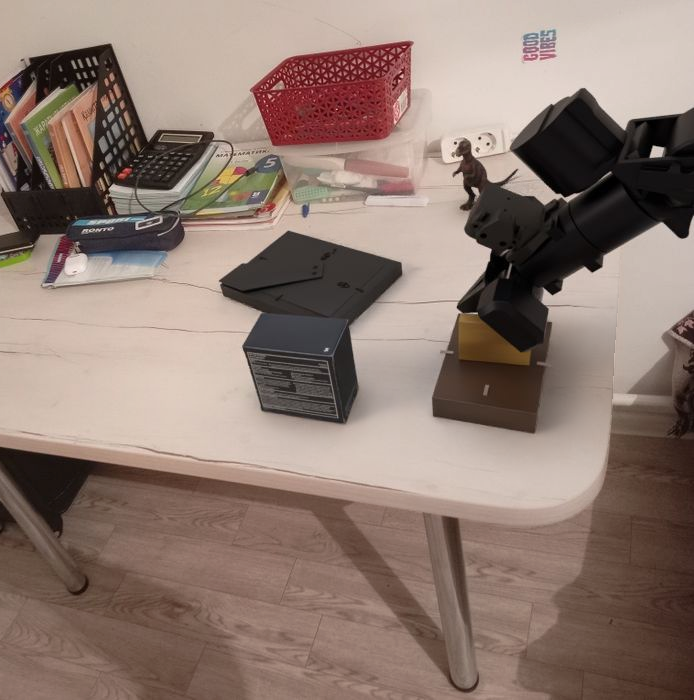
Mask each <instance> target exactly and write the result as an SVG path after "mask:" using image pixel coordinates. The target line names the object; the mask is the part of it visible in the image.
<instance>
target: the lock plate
mask: <svg viewBox="0 0 694 700" xmlns="http://www.w3.org/2000/svg"><path fill="white" fill-rule="evenodd" d="M461 313H462V312H458V313H457V316H456V319H455V322H454V325H453V329H452V332H451V335H450V338H449V340H448V341H449V342H448V344H447V348H446V350H445V349H440V351H439V354H445V355H444V357H443V361H442V364H441V367H440V370H439V374H438V377H437V380H436V383H435V386H434V389H433V393H432V396H431V405H432V406H431V407H432V408H431V410H432V416H433V417H436V418H442V419H448V420H455V421H460V422H465V423H471V424H476V425H483V426H489V427H495V428H500V429H506V430H512V431H518V432H524V433H529V434H536V430H537V423H538V418H539V411H540V405H541V398H542V394H543V393H542V392H543V387H544V382H545V374H546V369H547V367H550V368H551V367H552V366H553V362H548V356H549V350H550V344H551V336H552V330H553V322H552V321H547V325H546V331H545V337H544V342H543V344H542V345H540V346H538V347H536V348H534V349H532V350H531V354H530V364H529V366H528V365H517V364H506V363H495V362H483V361H472V360H461V359H459V318H460V314H461Z"/></svg>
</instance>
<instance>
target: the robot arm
mask: <svg viewBox="0 0 694 700" xmlns="http://www.w3.org/2000/svg"><path fill="white" fill-rule="evenodd" d="M654 147H658V148H662V149H663V150H662V155H661V156H655V157H651V154H652V151H653V148H654ZM509 151H510V152H511V153H512V154H513V155H514V156H515V157H516V158H518V160H519V161H521V162H522V163H523V164H524V165H525V167H527V168H528V169H529V170H530V171H531V172H532V173H533V174H534V175H535V176H536V177H538V178H539V179H540V180H541V182H543V183H544V184H545V185H546V187H548V188H549V189H550V190H551V191H552V192H553V194H555V195H560V196H562V197H559V198H558V199H556V198H553V199H551V200H550V201H549V202H547V203H546V204H544V203H543V202H542V201H541V200H539V199H538V198H537V197H536V196H535V195H523V194H519V193H517V192H514V191H511V190H509V189H506V188H504V187H501V186H497V185H494V184H487V185H486V186H485V187H484V189H483V190H482V192H481V194H478V195H479V196H478V197H477V199H476V201H474V203H473V205H472V206H471V208H470V210H469V212H468V217H467V220H466V222H465V225H464V227H463V231H464V233H465V235H466V236H468V237H469V238H471V239H473V240H475V241H476V243H477V244H478V245H480V246H483V247H485V248H488V249H489V250H490V253H489V261H487V264H486V267H485V270H484V271H483V273H481V275H480V276H479V277H478V279H476V280H475V282H474V283H473V284H472V285H471V286H470V288H469V289H468V290H467V291H466V293H465V294H463V296H462V297H461V298H460V299H459V301H458V302H457V304H456V309H457V310H458V311H459V313H466V314H478V315H479V318H480V319H481V320H482V321H484V322H485V323H486V324H487V325H488V326H490V327H491V328H492V329H493V330H494V331H496V332H497V333H498V334H499V335H500V336H501V337H503V338H504V339H505V340H506V341H507V342H509V343H510V344H511V345H512V346H513V347H515V348H516V349H517V350H518V351H519V352H521V353H524V352H528V351H530V350H532V349H534V348H536V347H538V346H540V345H542V344H543V342H544V337H545V331H546V325H547V322H548V319H549V313H550V312H549V311H550V308H549V307H547V305H545V303H543V297H544V292H545V291H546V292H548V294H549V295H551V296H552V297H553V296H554V295H556V294H558V293H560V292H561V291H563V285H564V280H565V279H567V278H569V277H570V276H572V275H573V274H576V273H577V272H579V271H581V270H583V269H584V268H585V269H587V270H588V271H589V272H590V273H591V274H593V273H595V272H597V271H599V270H600V269H602V268H603V267H604V258H605V256H606V255H608V254H611V252H613V251H615V250H617V249H618V248H620V247H622V246H624V245H625V244H627V243H629V242H630V241H632V240H634V239H635V238H637V237H639V236H641V235H643V234H644V233H646V232H648V231H650V230H652V229H653V228H655V227H656V226H658V225H659V224H661V223H663V225H665V226H666V227H667V228H668V229H669V230H670V231H671V232H672V233H673V234H674V235H675V236H676V237H677V238H679V239H680V240H684V239H687V238H688V237H689V235H690V228H691V224H692V221H693V219H694V106H693V107H691V108H690V109H688V110H686V111H685V112H683V113H675V114H665V115H657V116H656V115H655V116H648V117H647V116H646V117H639V118H631V119H629V120H628V121H627V123H626V126H625V129H624V128H623V127H622V126H621V125H620V124H618V123H617V121H615V119H614V118H613V117H611V116H610V115H609V114H608V113H607V112H606V110H604V109H603V108H602V107H601V105H600V104H599V103H598V101H597V99H596V97H595V96H594V95H593V94H592V93H591V92H590V91H589V90H588V89H587V88H586V87H580V88H579V89H578V90H577V91H575V92H574V93H573V94H572V95H570V96H569V95H568V96H565V97H563V98H562V99H560V100H558V101H557V102H556V103H555V102H554V104H553V103H550V104H549V105H547V106H546V107H545V108H544V109H543V110H542V111H541V112H539V113H538V114H537V115H536V116H535V117H534V118H533V119H531V120H530V122H529V123H528V124H527V125H526V126H525V127H524V128H523V129H522V130H521V131H520V132H519V134H517V136H516V137H515V139H514V140H512V143H511V144H510V146H509ZM575 194H576V196H575V197H573V198H571V199H570V200H569V201H567V200H565V198H568V197H570V196H572V195H575Z"/></svg>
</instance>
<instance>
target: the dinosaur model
mask: <svg viewBox="0 0 694 700" xmlns="http://www.w3.org/2000/svg"><path fill="white" fill-rule="evenodd" d="M454 154H455V157H457V158H460V157H462V160H461V161H460V163H459V166H458V168H457V169H456V170H455V171H453V172H452V178H455V177H456V176H457V175H459V174H460V173H462V179H463V180H462V187H463V190H464V191H465V193H466V194H467V195H468V199H467V201H466V202H465V203H463V204H460V207H459V208H460V210H463V211H466V210H467V211H468V210H470V209H472V207H473V205H474V203H475V199H476V197H477V195H476V193H475V192H474V190H473V188H475V189H477V190H478V195H480V194H481V192H482V190H483V189H484V187H485V186H486V185H487V184H494V185H497V186H499V187H501V186H504V185H505V183H507V182H508V181H510V179H512V178H513V177H514V176H515V175H516V173H517V172H518V171H519V170H520V169H519V168H516V169H515V170H514V171H512V172H511V173H510V174H509V175H508V176H507V177H506V178H505V179H503V180H501V181H497V182H492V181H491V180H489V179H488V172H487V169H486V168H485V166H484V165H483V163H482V162H481V161H480V160H478V159H477V158H476V156H474V155H473V153H472V142H471V141H470V140H468V139H465V140H460V141H459V142H458V145H457V147H456V149H455V151H454Z"/></svg>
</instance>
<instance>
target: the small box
mask: <svg viewBox="0 0 694 700" xmlns="http://www.w3.org/2000/svg"><path fill="white" fill-rule="evenodd" d="M350 330H351V329H350V325H349V321H348V319H335V318H321V317H308V316H295V315H282V314H270V313H265V312H261V313H260V315H259V317H258V318H257V320H256V321H255V323H254V325H253V326H252V328H251V330H250V331H249V334H248V335H247V337H246V338H245V340H244V342H243V344H242V345H241V348H242V351H243V353H244V356H245V359H246V361H247V366H248V369H249V372H250V375H251V379H252V381H253V385H254V389H255V392H256V396H257V398H258V402H259V406H260V410H261V411H263V412H268V413H274V414H281V415H287V416H292V417H298V418H305V419H312V420H318V421H324V422H329V423H330V422H331V423H337V424H345V423H346V422H347V421H348V418H349V415H350V411H351V409H352V406H353V403H354V400H355V399H356V397H357V394H358V391H359V386H360V385H359V382H358V376H357V368H356V362H355V356H354V350H353V343H352V335H351V331H350Z"/></svg>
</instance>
